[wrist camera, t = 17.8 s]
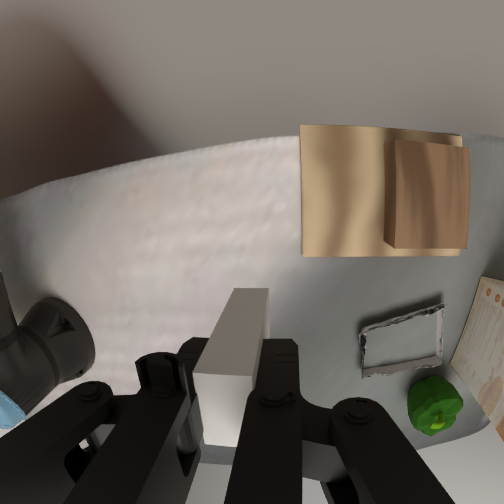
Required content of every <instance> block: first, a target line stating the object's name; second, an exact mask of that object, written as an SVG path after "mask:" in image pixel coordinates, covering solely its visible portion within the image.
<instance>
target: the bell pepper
mask: <svg viewBox="0 0 504 504" xmlns="http://www.w3.org/2000/svg"><path fill="white" fill-rule="evenodd" d="M407 406H408V415H409V418H410V421H411V423H412V425H413V427H414V428H415V429H417V430H418V431H420V430H421V432H423V433H424V434H426V435H428V436H433V435H434V434H436V433H438V432H439V431H442V430H444V429H447V428H450V427H451V426H452V425H453V423H454V422H455V420H456V414H457V413H458V412H460V410H461V408H462V407H463V399H462V398H461V396H460V395H459V393H458V391H457V390H456V389H455V387H454V386H453V385H452V384H451V383H450V382H448V381H447V380H445V379H444V378H442V377H438V376H433V375H432V376H430V377H427V378H426V379H425V380H421V381H419V382H417V383H415V384H414V385H413V387H412V388H411V389H410V391H409V394H408V398H407Z"/></svg>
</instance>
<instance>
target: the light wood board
mask: <svg viewBox="0 0 504 504" xmlns="http://www.w3.org/2000/svg"><path fill="white" fill-rule="evenodd" d="M395 139H396V140H408V141H418V142H428V143H436V144H445V145H452V146H459V147H462V137H460V136H454V135H447V134H440V133H432V132H424V131H414V130H405V129H395V128H382V127H367V126H346V125H345V126H344V125H300V144H301V176H302V257H354V256H459V255H460V249H394V248H393V247H391V246H390V245H388V244H387V243H386V242H384V241H383V240H384V209H385V173H384V143H387V142H390V141H392V140H395Z"/></svg>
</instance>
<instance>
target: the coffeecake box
mask: <svg viewBox="0 0 504 504" xmlns="http://www.w3.org/2000/svg"><path fill="white" fill-rule="evenodd" d="M450 365H451V366H452V368H453V369H454V370H455V372H456V373H457V374H458V376H459V377H460V378H461V380H462V381H463V382H464V384H465V385H466V387H467V388H468V389H469V391H470V392H471V394H472V395H473V396H474V398H475V399H476V401H477V402H478V404H479V405H480V406H481V408H482V409H483V411H484V412H485V414H486V415H487V417H488V418H489V420H490V421H491V423H492V424H493V426H494V427H495V429H496V430H497V432H498V433H499V435H500V436H501V438H502V439H503V441H504V281H501V280H497V279H492V278H488V277H483V276H481V279H480V282H479V285H478V289H477V292H476V295H475V298H474V302H473V305H472V308H471V311H470V314H469V316H468V319H467V322H466V325H465V328H464V330H463V333H462V335H461V338H460V341H459V343H458V346H457V348H456V350H455V353H454V355H453V358H452V360H451V362H450Z"/></svg>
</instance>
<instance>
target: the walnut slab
mask: <svg viewBox="0 0 504 504" xmlns="http://www.w3.org/2000/svg"><path fill="white" fill-rule="evenodd" d="M384 173H385V209H384V240H383V241H384V242H386V243H387V244H388V245H390V246H391V247H393V248H394V249H467V240H468V227H469V207H470V159H469V148H466V147H459V146H452V145H445V144H436V143H428V142H418V141H408V140H396V139H395V140H392V141H390V142H387V143H384Z"/></svg>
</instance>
